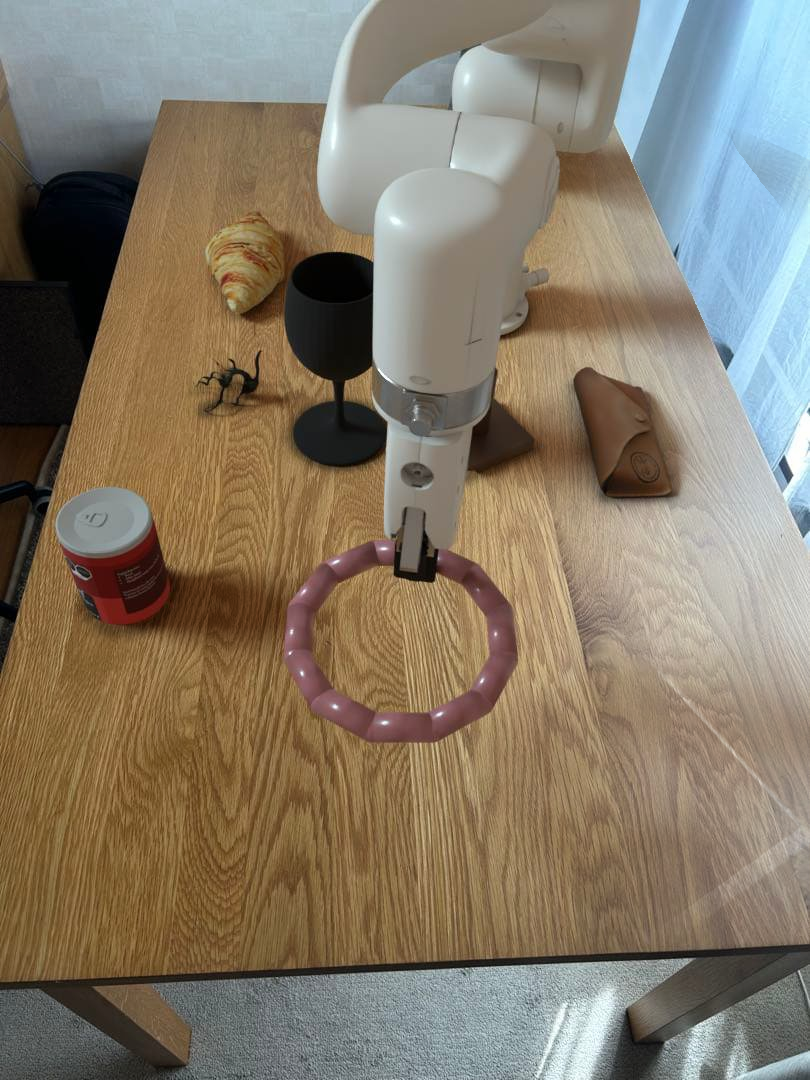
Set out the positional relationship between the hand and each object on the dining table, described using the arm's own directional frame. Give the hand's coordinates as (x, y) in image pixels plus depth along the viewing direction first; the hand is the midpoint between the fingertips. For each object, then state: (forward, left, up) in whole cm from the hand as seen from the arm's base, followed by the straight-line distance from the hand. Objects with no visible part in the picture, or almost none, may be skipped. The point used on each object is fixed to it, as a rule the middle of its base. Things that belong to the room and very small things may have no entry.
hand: (417, 560), depth 70 cm
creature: (-1, -41, -15) cm, 44 cm away
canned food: (+19, -19, -15) cm, 31 cm away
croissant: (-13, -62, -15) cm, 65 cm away
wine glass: (-9, -29, -15) cm, 34 cm away
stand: (-22, -21, -14) cm, 34 cm away
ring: (+5, +6, 0) cm, 7 cm away
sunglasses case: (-36, -13, -15) cm, 41 cm away
